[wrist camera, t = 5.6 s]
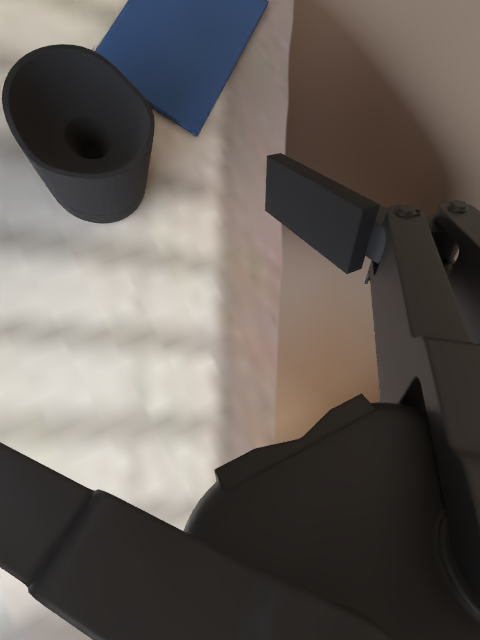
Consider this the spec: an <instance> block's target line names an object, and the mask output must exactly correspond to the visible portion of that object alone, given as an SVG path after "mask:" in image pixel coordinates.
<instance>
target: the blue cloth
mask: <svg viewBox="0 0 480 640" xmlns="http://www.w3.org/2000/svg"><path fill="white" fill-rule="evenodd" d="M267 5H268V1H267V0H129V1H128V2H127V4H126V5H125V7H124V8H123V10H122V11H121V13H120V14H119V16H118V17H117V19H116V20H115V22H114V23H113V25H112V26H111V28H110V30H109V31H108V33H107V34H106V36H105V37H104V39H103V40H102V42H101V43H100V45H99V46H98V48H97V49H96V51H95V52H96V53H98V54H100V55H102V56H103V57H104V58H106V59H107V60H108V61H110V62H111V63H112V64H113V65H114V66H115V67H116V68H117V69H118V70H119V71H120V72H121V73H122V74H123V75H124V76H125V77H126V78H127V79H128V80H129V81H130V82H131V83H132V84H133V85H134V86H135V87H136V88H137V89H138V90H139V92H140V93H141V94H142V95H143V96H144V97H145V99H146V100H147V101H148V103H149V105H150V106H151V107H152V108H154V109H155V110H157V111H158V112H160V113H161V114H163V115H165V116H166V117H168V118H169V119H171V120H172V121H174V122H176V123H177V124H179V125H180V126H182V127H183V128H185V129H186V130H188V131H190V132H191V133H193V134H194V135H196V136H198V134H199V132H200V131H201V129H202V127H203V125H204V123H205V121H206V119H207V117H208V116H209V114H210V112H211V110H212V108H213V106H214V104H215V102H216V101H217V99H218V97H219V95H220V93H221V91H222V89H223V87H224V86H225V84H226V82H227V80H228V78H229V76H230V74H231V72H232V71H233V69H234V67H235V65H236V63H237V61H238V59H239V57H240V56H241V54H242V52H243V50H244V48H245V46H246V44H247V42H248V41H249V39H250V37H251V35H252V33H253V31H254V29H255V27H256V26H257V24H258V22H259V20H260V18H261V16H262V14H263V12H264V11H265V9H266V7H267Z"/></svg>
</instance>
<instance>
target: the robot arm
mask: <svg viewBox="0 0 480 640" xmlns="http://www.w3.org/2000/svg"><path fill="white" fill-rule="evenodd" d="M265 211H267V212H268V213H269V214H271V215H272V216H273V217H274V218H276V219H277V220H278V221H280V222H281V223H282V224H283V225H285V226H286V227H287V228H289V229H290V230H291V231H292V232H294V233H295V234H296V235H297V236H299V237H300V238H301V239H303V240H304V241H305V242H306V243H308V244H309V245H310V246H312V247H313V248H314V249H315V250H317V251H318V252H319V253H321V254H322V255H323V256H324V257H326V258H327V259H328V260H330V261H331V262H332V263H333V264H335V265H336V266H337V267H338V268H340V269H341V270H342V271H344V272H345V273H346V274H348V273H351V272H354V271H356V270H359V269H361V268H362V265H363V261H364V258H365V256H367V257H368V258H370V259H371V260H372V261H371V265H370V268H369V271H368V274H367V277H366V280H365V284H367V283H368V281H369V280H370V283H371V295H372V307H373V319H374V330H375V341H376V354H377V366H378V377H379V388H380V403H370V402H369V401H368V400H367V399H366V398H365V397H364V396H363V395H362V394H360V395H358V396H356V397H354V398H352V399H350V400H348V401H346V402H344V403H343V404H341V405H339V406H337V407H335V408H333V409H331V410H330V411H329V412H328V413H326V415H324V416H323V417H322V418H321V419H320V420H319V421H318V422H317V423H316V424H315V425H314V426H313V427H312V428H311V429H310V430H309V431H308V432H307V433H306V434H305V435H304V436H303V437H302V438H300V439H297V440H293V441H288V442H283V443H279V444H274V445H269V446H265V447H260V448H256V449H254V450H252V451H250V452H248V453H246V454H244V455H242V456H240V457H238V458H236V459H234V460H232V461H230V462H228V463H226V464H224V465H223V466H221V467H219V468H217V469H215V476H216V481H217V482H216V483H215V484H214V485H213V486H212V487H211V488H210V489H209V490H208V491H207V492H206V493H205V494H204V496H203V497H202V498H201V499H200V501H199V502H198V504H197V505H196V507H195V508H194V510H193V512H192V514H191V516H190V518H189V520H188V522H187V524H186V526H185V529H184V531H182V530H180V529H178V528H176V527H174V526H172V525H170V524H168V523H166V522H164V521H162V520H160V519H158V518H156V517H155V516H153V515H151V514H149V513H147V512H145V511H143V510H141V509H139V508H137V507H135V506H133V505H131V504H129V503H127V502H125V501H124V500H122V499H120V498H118V497H116V496H114V495H111V494H109V493H107V492H105V491H102V490H96V491H94V490H91V489H89V488H87V487H85V486H83V485H81V484H79V483H77V482H75V481H73V480H71V479H69V478H67V477H65V476H63V475H62V474H60V473H58V472H56V471H54V470H52V469H50V468H48V467H46V466H44V465H42V464H41V463H39V462H37V461H35V460H33V459H31V458H29V457H27V456H25V455H23V454H21V453H19V452H18V451H16V450H14V449H12V448H10V447H8V446H6V445H4V444H2V443H0V567H1V568H2V569H4V570H5V571H7V572H8V573H10V574H11V575H12V576H14V577H15V578H17V579H18V580H20V581H21V582H22V583H24V584H25V585H26V586H27V587H28V592H29V593H30V594H31V595H32V596H33V597H34V598H35V599H36V600H37V601H39V602H40V603H41V604H43V605H44V606H45V607H47V608H48V609H50V610H51V611H52V612H54V613H55V614H57V615H58V616H60V617H61V618H63V619H64V620H65V621H67V622H68V623H70V624H71V625H73V626H74V627H75V628H77V629H78V630H80V631H81V632H83V633H84V634H86V635H87V636H88V637H90V638H91V639H93V640H480V211H478V210H477V209H476V208H475V207H473V206H471V205H469V204H466V203H465V202H463V201H457V200H456V201H445V202H442V203H440V205H439V207H438V209H437V212H436V214H435V215H424V213H423V212H422V211H421V210H419V209H417V208H414V207H411V206H406V205H396V206H391V207H389V208H388V209H387V208H385V207H383V206H382V205H380V204H377V203H376V202H374V201H372V200H370V199H368V198H366V197H364V196H362V195H360V194H358V193H357V192H355V191H353V190H351V189H348V188H347V187H345V186H343V185H341V184H339V183H337V182H335V181H333V180H331V179H329V178H327V177H325V176H324V175H322V174H320V173H318V172H316V171H314V170H312V169H310V168H308V167H306V166H304V165H302V164H301V163H299V162H297V161H295V160H293V159H291V158H289V157H287V156H285V155H283V154H281V153H279V154H274V155H269V156H267V174H266V202H265ZM458 249H459V255H458V258H457V260H456V261H455V260H454V257H455V255H456V253H457V251H458Z"/></svg>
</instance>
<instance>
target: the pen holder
mask: <svg viewBox="0 0 480 640" xmlns="http://www.w3.org/2000/svg"><path fill="white" fill-rule="evenodd" d="M2 104H3V110H4V114H5V118H6V121H7V123H8V125H9V128H10V130H11V132H12V134H13V135H14V137H15V139H16V141H17V142H18V144H19V146H20V147H21V149H22V150H23V152H24V153H25V155H26V156H27V158H28V159H29V161H30V162H31V163H32V165H33V166H34V168H35V169H36V171H37V172H38V174H39V175H40V177H41V178H42V180H43V181H44V183H45V184H46V186H47V187H48V189H49V190H50V191H51V193H52V194H53V196H54V197H55V198H56V200H57V201H58V202H59V203H60V204H61V205H62V206H63V208H65V209H66V210H67V211H68V212H70V213H71V214H73V215H74V216H76V217H78V218H80V219H83V220H86V221H89V222H93V223H112V222H116V221H119V220H122V219H124V218H126V217H128V216H129V215H130V214H132V213H133V212H134V211H135V210H136V209H137V208H138V206H139V205H140V203H141V201H142V199H143V196H144V193H145V188H146V182H147V177H148V170H149V163H150V157H151V150H152V143H153V136H154V115H153V112H152V108H151V106H150V105H149V103H148V101H147V100H146V99H145V97H144V96H143V95H142V94H141V93H140V92H139V90H138V89H137V88H136V87H135V86H134V85H133V84H132V83H131V82H130V81H129V80H128V79H127V78H126V77H125V76H124V75H123V74H122V73H121V72H120V71H119V70H118V69H117V68H116V67H115V66H114V65H113V64H112V63H111V62H110V61H108V60H107V59H106V58H104V57H103V56H102V55H100V54H98V53H96V52H94V51H93V50H90V49H87V48H84V47H81V46H75V45H64V44H61V45H51V46H46V47H42V48H39V49H36V50H34V51H32V52H30V53H28V54H26V55H25V56H23V57H22V58H21V59H19V60H18V61H17V62H16V64H15V65H14V66H13V67H12V68H11V70H10V71H9V73H8V75H7V77H6V79H5V82H4V86H3V91H2Z"/></svg>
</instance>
